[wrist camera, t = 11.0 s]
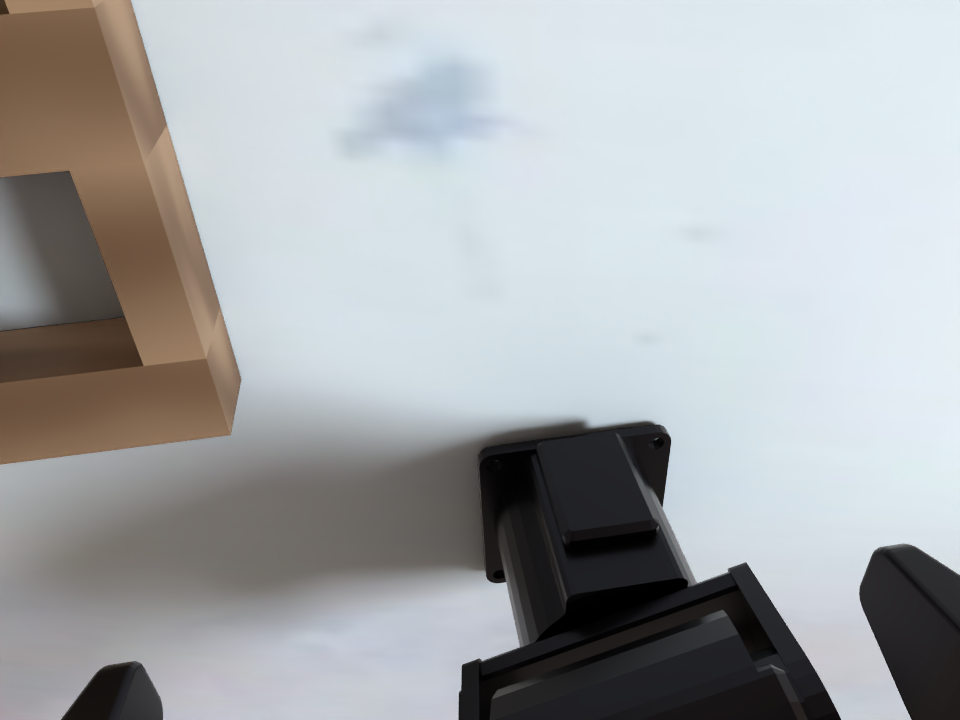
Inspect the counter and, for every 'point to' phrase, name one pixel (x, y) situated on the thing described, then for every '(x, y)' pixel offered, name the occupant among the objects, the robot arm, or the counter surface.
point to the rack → (108, 245)
